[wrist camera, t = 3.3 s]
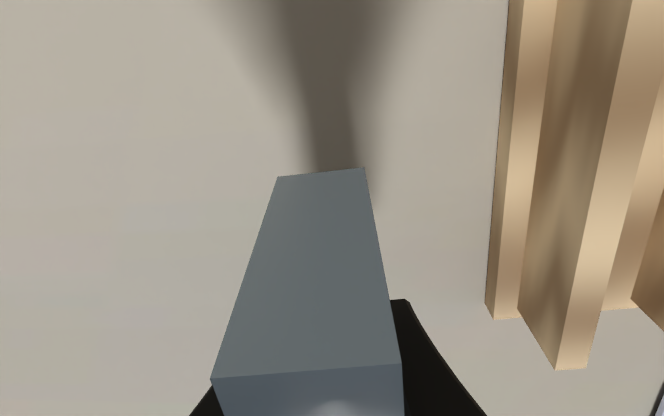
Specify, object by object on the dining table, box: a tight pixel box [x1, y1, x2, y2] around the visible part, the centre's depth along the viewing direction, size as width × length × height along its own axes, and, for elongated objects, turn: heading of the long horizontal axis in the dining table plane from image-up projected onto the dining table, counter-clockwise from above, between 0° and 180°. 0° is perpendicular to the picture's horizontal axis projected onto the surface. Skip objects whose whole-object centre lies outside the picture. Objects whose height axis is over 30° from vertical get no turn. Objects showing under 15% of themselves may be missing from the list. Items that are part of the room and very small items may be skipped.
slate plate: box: [210, 167, 405, 416], centre depth 9 cm, size 7×2×6 cm, turn 7°
